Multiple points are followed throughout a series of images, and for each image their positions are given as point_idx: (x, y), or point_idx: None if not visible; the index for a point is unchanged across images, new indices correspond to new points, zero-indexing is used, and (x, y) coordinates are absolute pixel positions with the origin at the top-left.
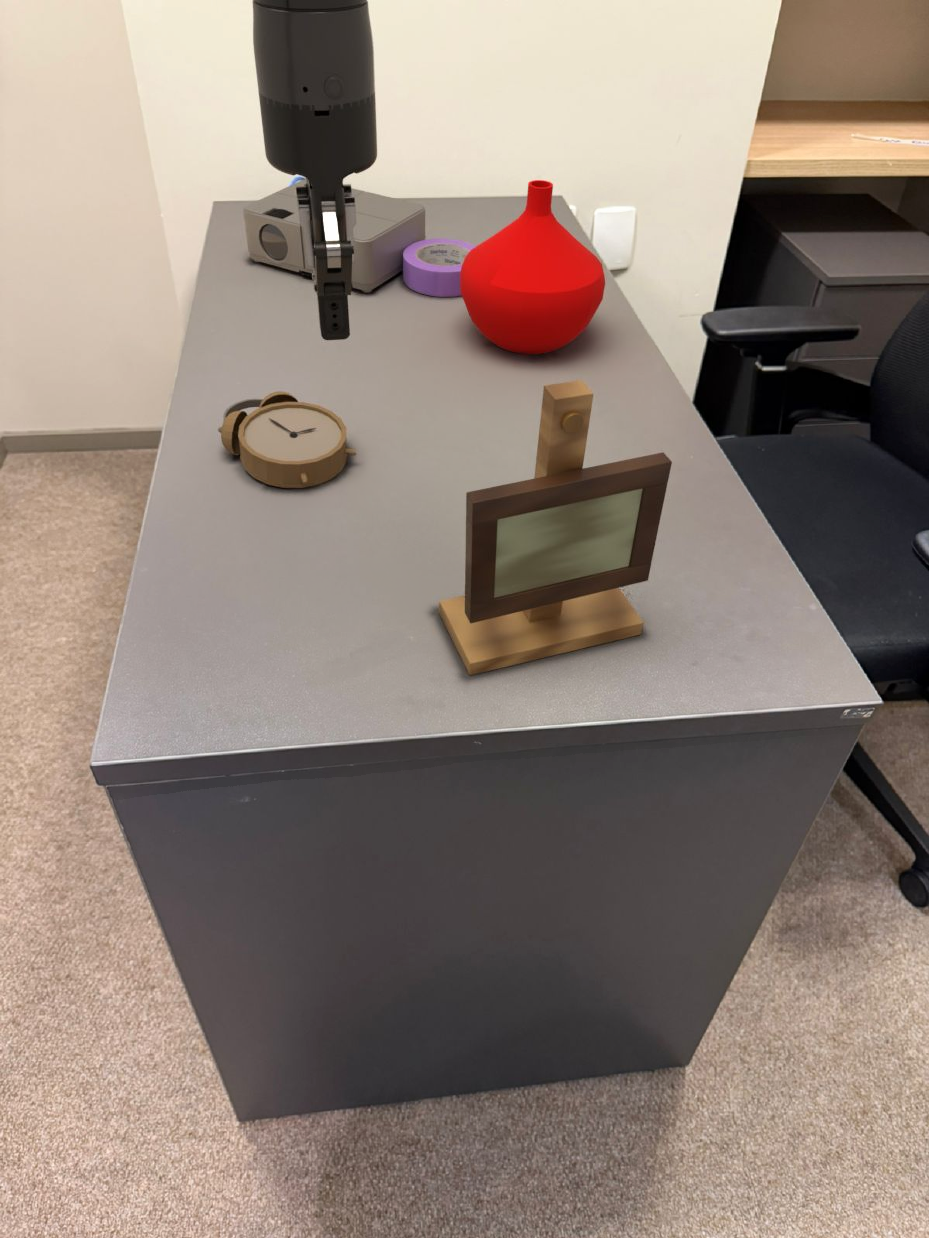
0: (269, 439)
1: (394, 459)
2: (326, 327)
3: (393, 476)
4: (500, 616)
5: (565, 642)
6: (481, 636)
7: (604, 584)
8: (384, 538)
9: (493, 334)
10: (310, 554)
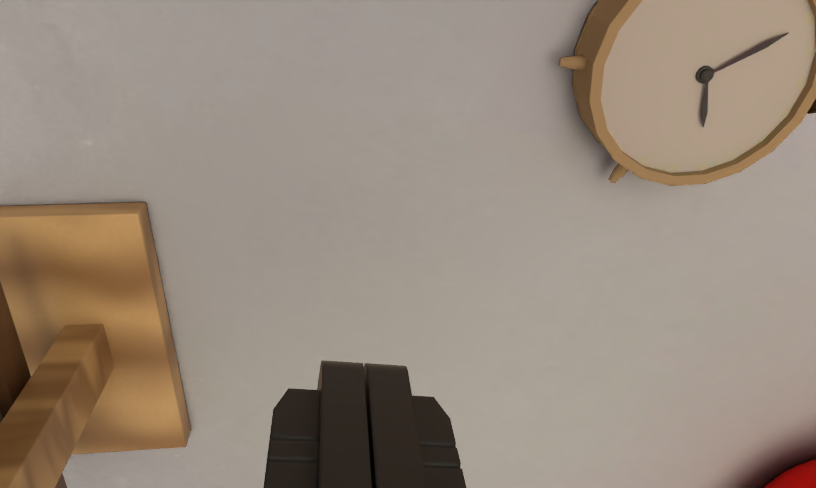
0: (715, 17)
1: (588, 237)
2: (274, 423)
3: (540, 224)
4: (84, 291)
5: None
6: (36, 252)
7: None
8: (369, 165)
9: (813, 478)
10: (361, 19)
